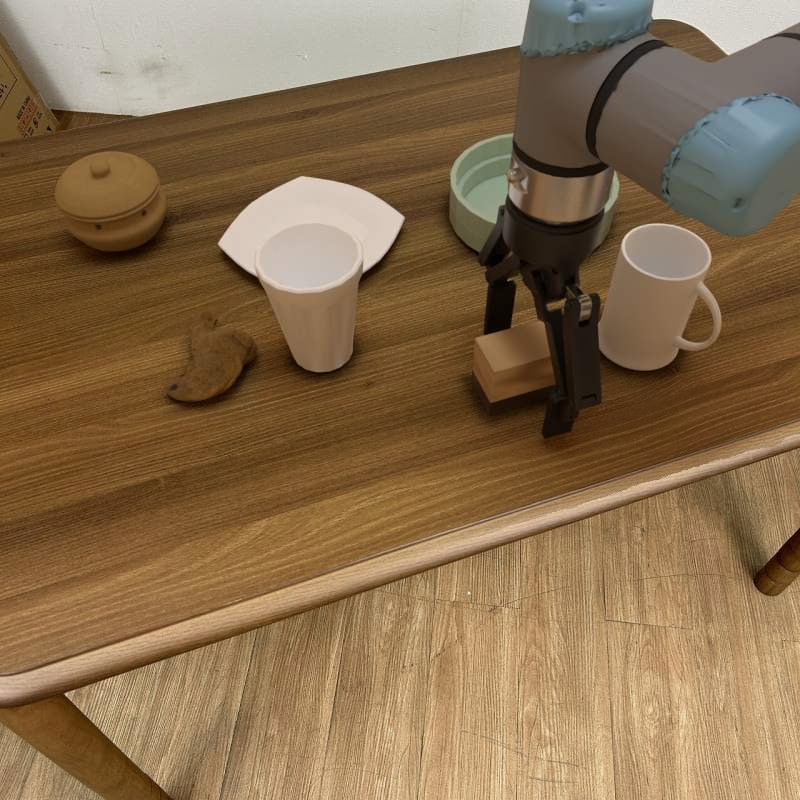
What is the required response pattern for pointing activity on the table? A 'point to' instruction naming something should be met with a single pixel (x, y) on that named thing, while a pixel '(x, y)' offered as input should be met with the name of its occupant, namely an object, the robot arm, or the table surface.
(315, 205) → the plate
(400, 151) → the table surface
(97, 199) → the pot
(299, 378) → the table surface
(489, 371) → the block
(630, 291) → the mug
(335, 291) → the cup
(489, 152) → the bowl
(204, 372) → the ginger root
